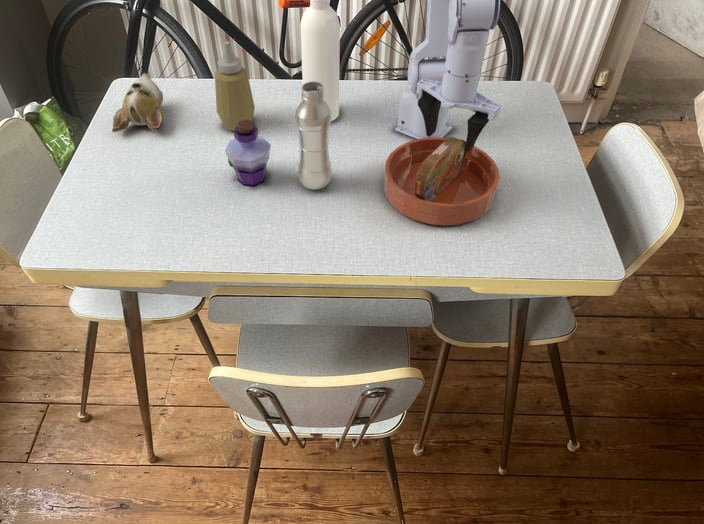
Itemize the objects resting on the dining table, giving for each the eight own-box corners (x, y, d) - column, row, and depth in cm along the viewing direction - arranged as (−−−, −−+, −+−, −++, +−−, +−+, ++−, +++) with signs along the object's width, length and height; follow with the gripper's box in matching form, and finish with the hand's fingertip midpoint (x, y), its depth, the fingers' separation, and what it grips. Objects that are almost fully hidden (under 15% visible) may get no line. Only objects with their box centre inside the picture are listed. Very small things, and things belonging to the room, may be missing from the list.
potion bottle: (227, 167, 114) (218, 113, 105) (270, 161, 115) (265, 107, 106) (232, 194, 108) (223, 140, 99) (277, 188, 109) (272, 133, 100)
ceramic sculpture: (166, 65, 123) (152, 106, 114) (176, 101, 130) (163, 142, 121) (118, 66, 124) (100, 107, 115) (129, 101, 131) (113, 142, 121)
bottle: (327, 100, 130) (326, -45, 107) (346, 116, 125) (349, -32, 103) (296, 111, 127) (289, -36, 105) (315, 128, 123) (311, -22, 100)
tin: (423, 211, 103) (429, 173, 97) (408, 204, 105) (413, 166, 98) (464, 170, 111) (472, 132, 105) (449, 164, 112) (456, 127, 106)
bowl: (362, 198, 107) (363, 176, 103) (419, 147, 117) (422, 125, 114) (459, 243, 98) (464, 222, 95) (512, 184, 109) (518, 162, 105)
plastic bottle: (336, 176, 111) (337, 80, 96) (325, 197, 107) (324, 100, 92) (305, 169, 113) (301, 74, 98) (293, 190, 109) (287, 94, 94)
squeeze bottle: (264, 120, 125) (255, 39, 111) (241, 139, 120) (230, 56, 107) (234, 110, 128) (223, 29, 114) (211, 128, 123) (196, 45, 110)
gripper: (410, 64, 92) (402, 137, 102) (492, 93, 86) (475, 167, 96) (433, 48, 96) (423, 119, 106) (513, 74, 90) (494, 147, 100)
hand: (449, 141), depth 101 cm, fingers open, 7 cm apart
